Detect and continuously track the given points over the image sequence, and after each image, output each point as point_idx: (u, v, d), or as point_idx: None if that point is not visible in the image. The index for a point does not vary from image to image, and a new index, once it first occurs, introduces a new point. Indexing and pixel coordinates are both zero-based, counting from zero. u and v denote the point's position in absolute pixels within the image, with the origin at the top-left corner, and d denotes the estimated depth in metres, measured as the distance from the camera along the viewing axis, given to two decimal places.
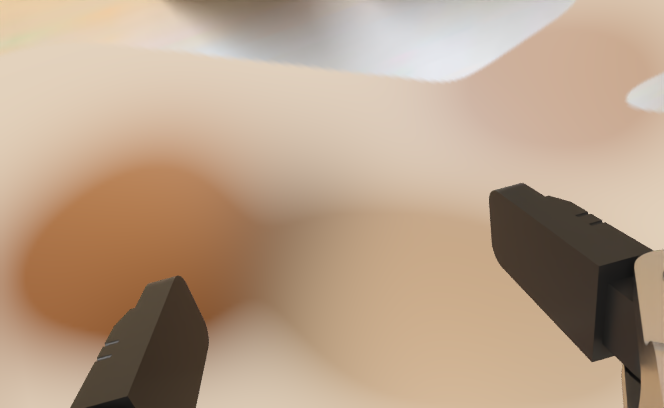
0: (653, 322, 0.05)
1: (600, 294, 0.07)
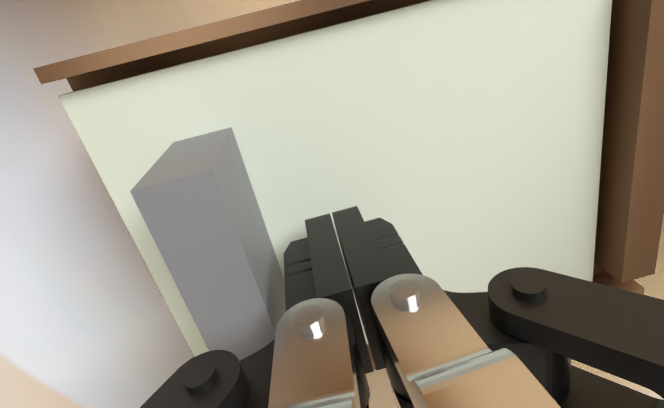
0: (404, 354, 0.06)
1: (365, 311, 0.08)
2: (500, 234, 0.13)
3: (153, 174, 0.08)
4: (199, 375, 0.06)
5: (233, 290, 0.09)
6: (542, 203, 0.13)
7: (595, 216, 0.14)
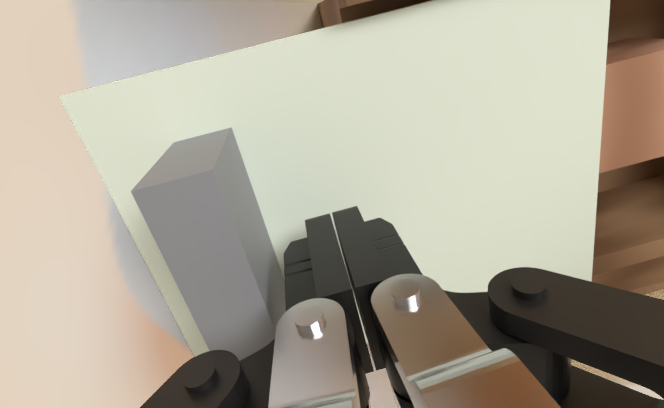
0: (405, 354, 0.06)
1: (365, 311, 0.08)
2: (499, 234, 0.13)
3: (154, 174, 0.08)
4: (199, 376, 0.06)
5: (234, 289, 0.09)
6: (541, 203, 0.13)
7: (594, 215, 0.14)
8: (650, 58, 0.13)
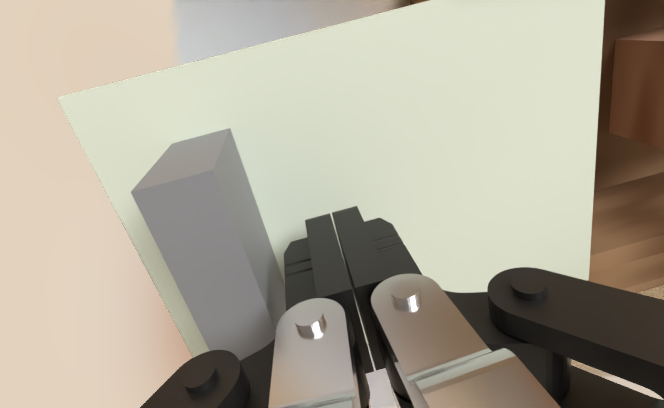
0: (405, 354, 0.06)
1: (365, 311, 0.08)
2: (497, 232, 0.13)
3: (153, 175, 0.08)
4: (199, 376, 0.06)
5: (234, 290, 0.09)
6: (538, 201, 0.13)
7: (590, 213, 0.14)
8: None
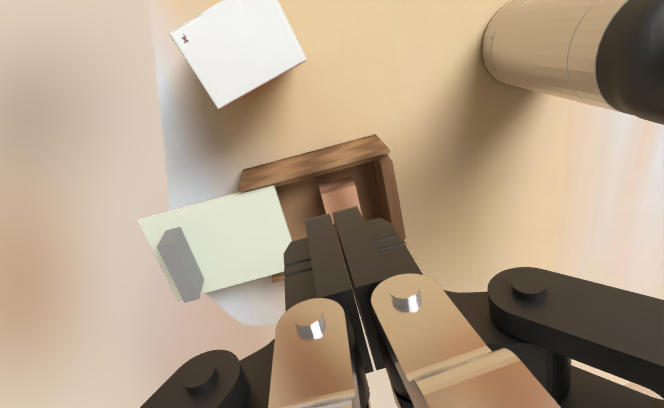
0: (405, 354, 0.06)
1: (365, 311, 0.08)
2: (263, 252, 0.44)
3: (161, 242, 0.39)
4: (199, 375, 0.06)
5: (178, 267, 0.40)
6: (274, 243, 0.44)
7: None
8: (340, 191, 0.45)
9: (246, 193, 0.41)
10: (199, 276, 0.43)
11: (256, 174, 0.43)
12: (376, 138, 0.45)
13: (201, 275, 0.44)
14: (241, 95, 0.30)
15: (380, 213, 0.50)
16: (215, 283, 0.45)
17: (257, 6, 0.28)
